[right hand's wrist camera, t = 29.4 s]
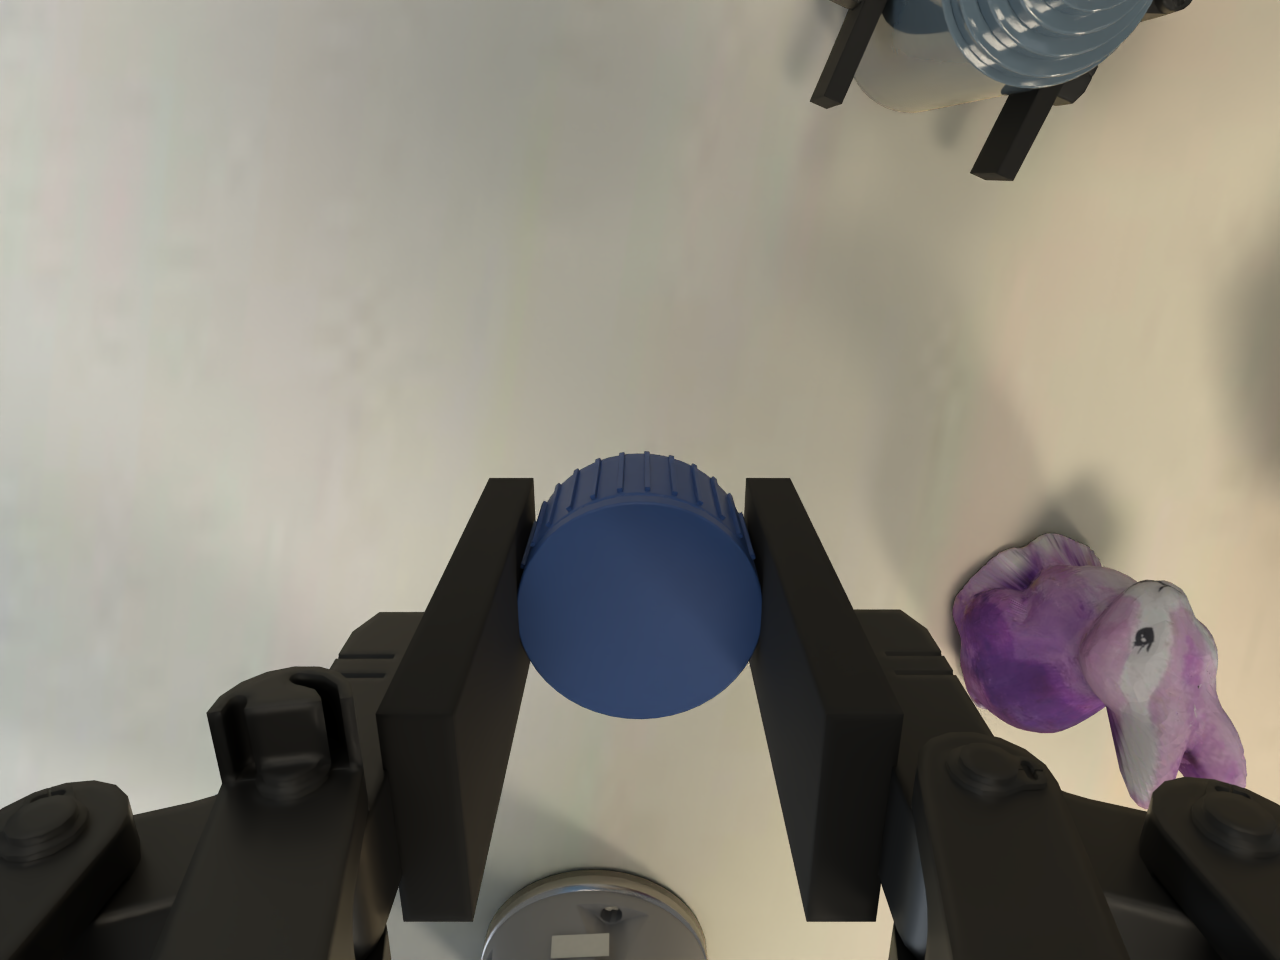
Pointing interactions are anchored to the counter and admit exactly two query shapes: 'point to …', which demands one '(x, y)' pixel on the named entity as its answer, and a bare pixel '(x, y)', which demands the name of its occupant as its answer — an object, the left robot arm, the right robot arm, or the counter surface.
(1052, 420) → the counter surface
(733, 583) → the cap
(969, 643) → the figurine
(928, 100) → the bottle
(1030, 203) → the counter surface
